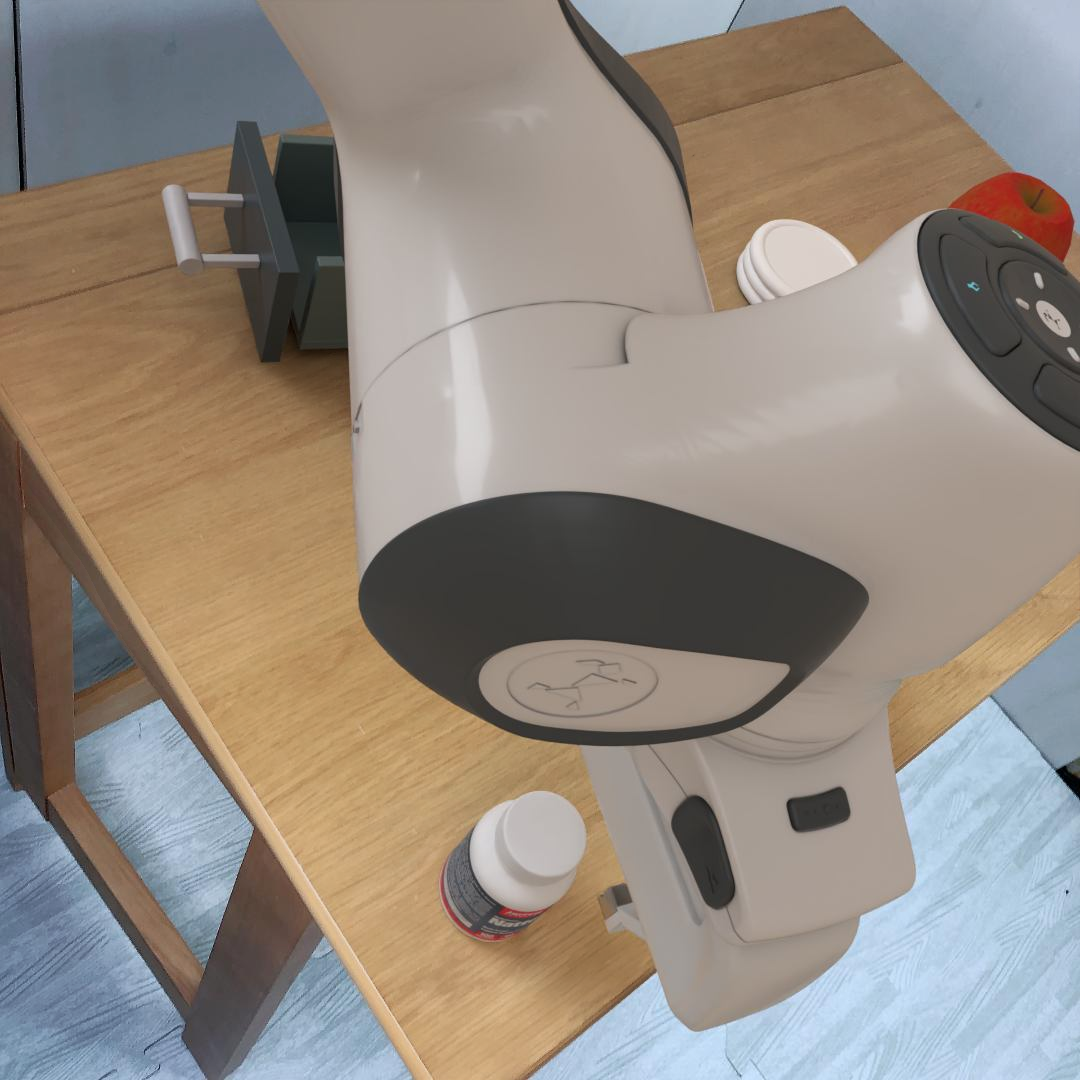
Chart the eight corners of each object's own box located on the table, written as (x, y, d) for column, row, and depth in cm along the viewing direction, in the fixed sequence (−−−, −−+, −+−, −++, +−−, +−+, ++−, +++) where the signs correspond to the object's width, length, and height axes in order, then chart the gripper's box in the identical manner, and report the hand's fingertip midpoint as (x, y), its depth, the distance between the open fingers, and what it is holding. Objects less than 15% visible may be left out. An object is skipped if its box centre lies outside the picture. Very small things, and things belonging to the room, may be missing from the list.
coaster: (811, 360, 89) (835, 329, 86) (711, 280, 90) (732, 248, 88) (863, 304, 95) (887, 274, 93) (769, 230, 97) (790, 198, 94)
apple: (1010, 260, 106) (1090, 170, 98) (1028, 344, 100) (1116, 256, 92) (907, 223, 104) (981, 128, 96) (919, 307, 98) (1000, 213, 89)
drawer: (181, 365, 68) (192, 272, 62) (148, 215, 74) (155, 115, 68) (465, 356, 76) (500, 272, 70) (416, 220, 82) (445, 132, 76)
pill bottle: (465, 962, 56) (522, 912, 49) (419, 864, 58) (467, 802, 51) (554, 916, 59) (620, 863, 52) (508, 824, 61) (565, 760, 54)
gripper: (540, 401, 41) (442, 594, 51) (770, 994, 31) (592, 1076, 42) (692, 392, 43) (568, 578, 54) (944, 936, 34) (734, 1027, 45)
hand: (580, 800), depth 48 cm, fingers open, 8 cm apart
